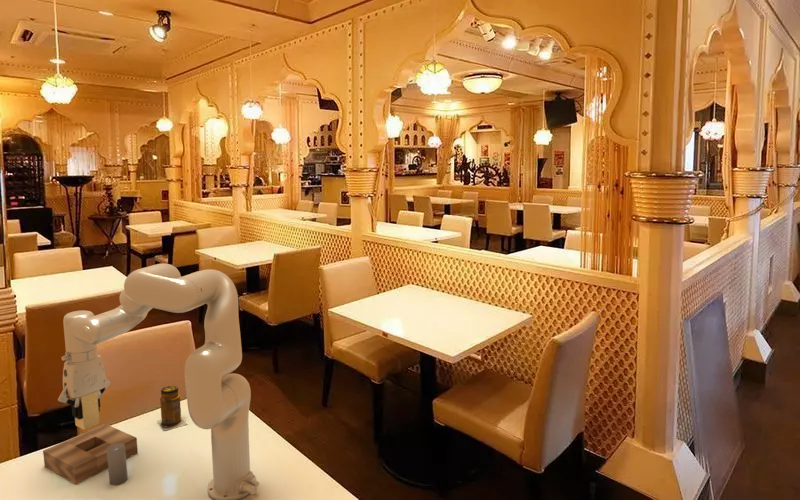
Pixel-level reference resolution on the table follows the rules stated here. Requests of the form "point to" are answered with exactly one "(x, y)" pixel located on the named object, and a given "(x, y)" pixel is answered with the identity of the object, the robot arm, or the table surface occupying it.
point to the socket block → (87, 453)
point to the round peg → (117, 463)
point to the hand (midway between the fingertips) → (86, 413)
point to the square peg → (88, 411)
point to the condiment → (170, 408)
